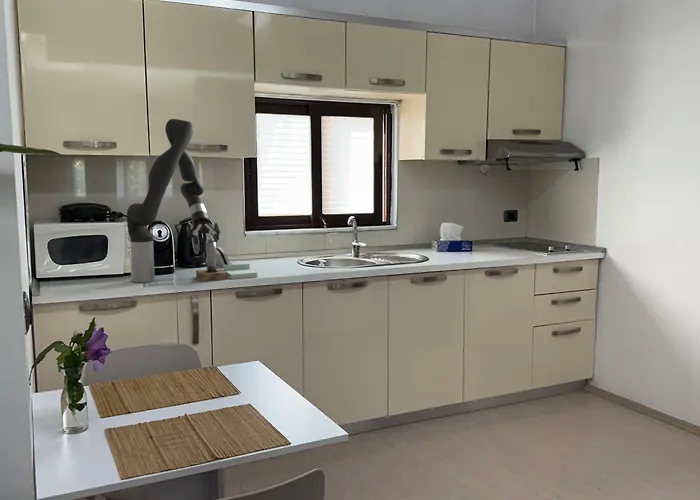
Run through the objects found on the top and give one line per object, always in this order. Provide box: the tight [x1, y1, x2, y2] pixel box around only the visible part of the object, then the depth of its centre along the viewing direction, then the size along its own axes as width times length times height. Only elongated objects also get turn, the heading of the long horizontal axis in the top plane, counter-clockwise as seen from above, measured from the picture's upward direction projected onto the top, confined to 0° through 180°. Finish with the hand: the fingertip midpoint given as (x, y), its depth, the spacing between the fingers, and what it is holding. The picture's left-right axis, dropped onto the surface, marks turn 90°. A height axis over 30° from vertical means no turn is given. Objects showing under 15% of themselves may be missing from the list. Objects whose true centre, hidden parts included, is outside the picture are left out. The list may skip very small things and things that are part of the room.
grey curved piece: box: [216, 247, 233, 268], centre depth 314 cm, size 17×5×10 cm, turn 26°
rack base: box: [222, 262, 258, 280], centre depth 285 cm, size 12×12×4 cm
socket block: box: [195, 268, 229, 282], centre depth 279 cm, size 11×11×3 cm
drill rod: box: [206, 238, 217, 273], centre depth 278 cm, size 4×4×17 cm
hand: (206, 243), depth 283 cm, fingers open, 8 cm apart
